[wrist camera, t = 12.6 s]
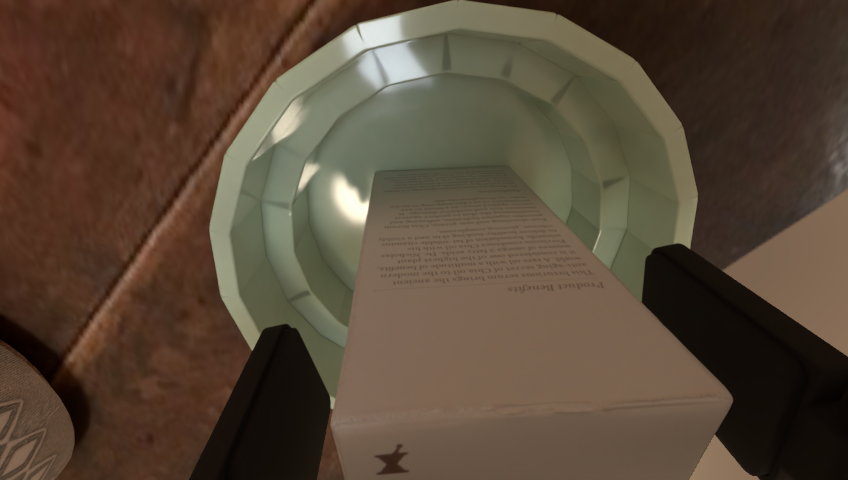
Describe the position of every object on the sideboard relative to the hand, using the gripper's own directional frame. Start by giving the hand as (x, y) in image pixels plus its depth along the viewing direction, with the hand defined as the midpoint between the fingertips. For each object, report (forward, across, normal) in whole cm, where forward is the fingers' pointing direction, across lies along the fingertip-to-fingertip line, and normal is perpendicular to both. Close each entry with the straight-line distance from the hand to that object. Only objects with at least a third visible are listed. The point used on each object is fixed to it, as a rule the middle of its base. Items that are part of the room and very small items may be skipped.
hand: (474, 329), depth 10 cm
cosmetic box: (+8, 0, 0) cm, 8 cm away
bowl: (+8, 0, 0) cm, 8 cm away
